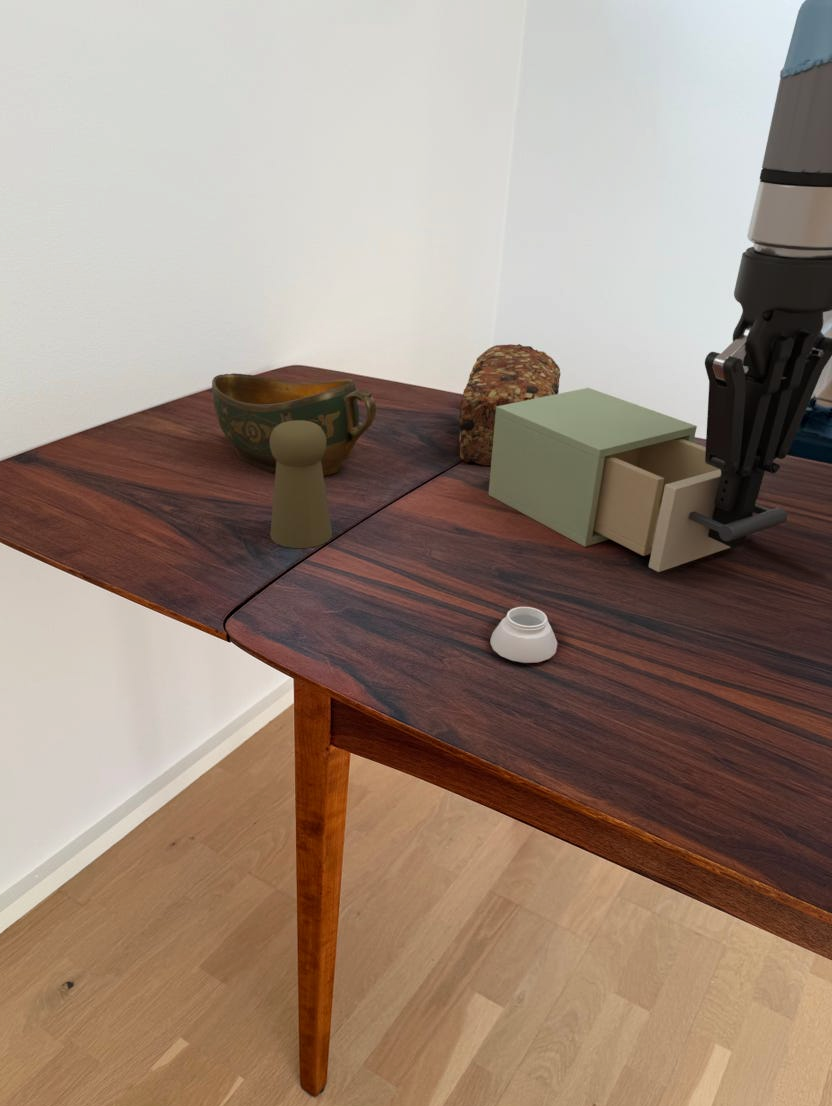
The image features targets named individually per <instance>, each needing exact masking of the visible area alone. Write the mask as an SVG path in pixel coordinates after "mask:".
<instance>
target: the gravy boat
mask: <svg viewBox="0 0 832 1106" xmlns="http://www.w3.org/2000/svg"><path fill="white" fill-rule="evenodd" d="M211 392H212V402H213V408H214V412H215V415H216V418H217V422H218V424H219V426H220V428H221V431H222V433H223V434H224V436H225V438H226V439H227V441H228V442H229V444H230V445H231V446H232V447H233V449H234V452H235V454H236V455H237V457H238V458H239V459H240V460H242V461H244V462H245V463H247V464H249V465H250V466H251V465H252V466H254V467H256V468H258V469H261V470H264V471H267V472H271V473H274V474H276V462H277V460H276V459H275V458H274V457H273V455H272V452H271V449H270V436H271V433H272V431H273V430H274V428H275V427H276V426H278V425H279V424H281V423H284V422H288V421H296V420H301V421H310V422H313V423H315V424H317V425H319V426H320V427H321V428H322V430H323V431H324V433H325V436H326V449H325V453H324V456H323V457H322V458H321V464H322V471H323V477H325V476H330V475H333V474H336V473H338V472H339V471H340V470H341V469H342V467H343V462H344V461H345V460H349V459H350V458H351V453H352V451H353V449H354V447H355V445H356V443H357V442H358V440H359V439H360V438H361V436H362V435H363V434H364V433H365V432H366V431H367V430H368V429H369V428H370V427H371V426H372V425H373V423H374V420H375V418H376V414H377V407H376V406H377V404H376V401H375V398H374V397H373V393H372V392H370V391H368V390H366V389H357V386H356V382H355V380H354V379H352V378H346V379H345V378H343V379H335V380H325V381H323V380H322V381H318V382H317V381H316V382H315V381H313V382H301V381H292V380H285V379H277V378H272V377H266V376H261V375H254V374H253V375H252V374H246V373H224V374H218V375H216V376H214V377H213V378H212V381H211ZM359 401H360V402H361V403H363V404H364V405H365V408H366V419H365V422H364V423H363V424H361V426H360V425H359V424H360V406H359ZM359 426H360V427H359Z"/></svg>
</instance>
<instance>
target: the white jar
mask: <svg viewBox="0 0 832 1106" xmlns="http://www.w3.org/2000/svg"><path fill="white" fill-rule="evenodd" d="M556 638H557V637H556V635H555V633H554V630H553V628H552V626H551V624H550V622H549V621H548V616H547V614H546V613H545V612H543V611H542V610H541V609H538V608H535V607H531V606H517V607H513V608H511V609H509V610H508V611H507V613H506V616H505V617H504V618H502V619H501V620H500V622H499V623H498V624H497V626H496V627H495V629H494V630H493V631H492V633H491V637H490V642H489V643H490V646H491V648H492V650H493V651H494V652H495V653H497V654H498V655H499V656H500V657H503V658H505V659H507V660H509V661H512V662H518V663H523V664H529V663H530V664H531V663H532V664H533V663H541V662H543V661H546V660H550V659H551V658H552V657H553V656H554V655H555V654H556V653H557V650H558V649H557V648H558V640H557V639H556Z"/></svg>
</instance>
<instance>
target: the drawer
mask: <svg viewBox="0 0 832 1106" xmlns="http://www.w3.org/2000/svg"><path fill="white" fill-rule="evenodd" d="M705 453H706V446H703V445H700V444H698V443H695V442H690V441H687V440H684V439H682V438H677V439H673V440H669V441H665V442H661V443H657V444H653V445H649V446H645V447H641V448H637V449H633V450H629V451H625V452H621V453H617V454H613V455H609V456H605V460H604V467H603V473H602V479H601V485H600V491H599V498H598V504H597V510H596V516H595V522H594V529H593V530H594V531H596V532H597V533H599V534H601V535H603V536H605V537H607V538H609V540H611V541H613V542H615V543H617V544H619V545H620V546H623V547H625V548H627V549H629V550H631V551H633V552H634V553H636V554H637V555H640V556H642V557H646V556H649V555H650V558H649V562H648V568H649V569H650V570H651V569H652V570H653V571H655V572H657V573H661V572H663V571H666V570H669V569H672V568H675V567H678V566H681V565H684V564H686V563H690V562H693V561H695V560H698V559H701V558H704V557H707V556H710V555H713V554H715V553H718V552H721V551H725V550H728V549H730V548H731V547H729V546H727V545H725V544H723V543H721V542H719V541H716V540H714V539H712V538H710V537H708V533H709V529H712V530H715V531H717V532H719V536H720V538H721V539H722V540H723V541H731V540H734V539H737V538H740V537H743V536H746V535H747V536H749V535H752V534H755V533H758V532H761V531H763V530H767V529H770V528H772V527H775V526H778V525H781V524H784V523H785V522H787V518H788V512H787V511H786V509H785V508H783V507H775V508H772V509H771V508H769V507H767V506H764V505H761V504H759V503H757V502H756V503H755V506H754V510H753V513H754V515H753V514H752V516H750V517H747V518H744V519H741V520H738V521H735V522H732V523H729V524H726V525H724V524H722V523H719V522H717V521H715V520H713V519H712V517H713V512H714V508H715V497H716V495H717V494H716V493H717V491H718V490H717V489H718V485H719V480H720V476H721V470H720V469H718V468H716V467H713V466H711V465H708V464H706V463H705ZM731 549H732V548H731Z"/></svg>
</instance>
